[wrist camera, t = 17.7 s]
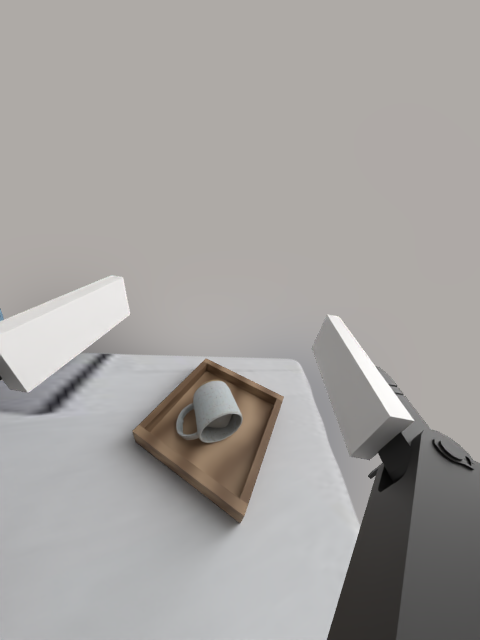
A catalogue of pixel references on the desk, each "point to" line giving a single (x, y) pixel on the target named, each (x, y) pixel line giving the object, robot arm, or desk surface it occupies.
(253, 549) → the desk surface
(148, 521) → the desk surface
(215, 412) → the ceramic mug
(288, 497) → the desk surface
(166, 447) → the walnut tray
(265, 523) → the desk surface
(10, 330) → the robot arm
